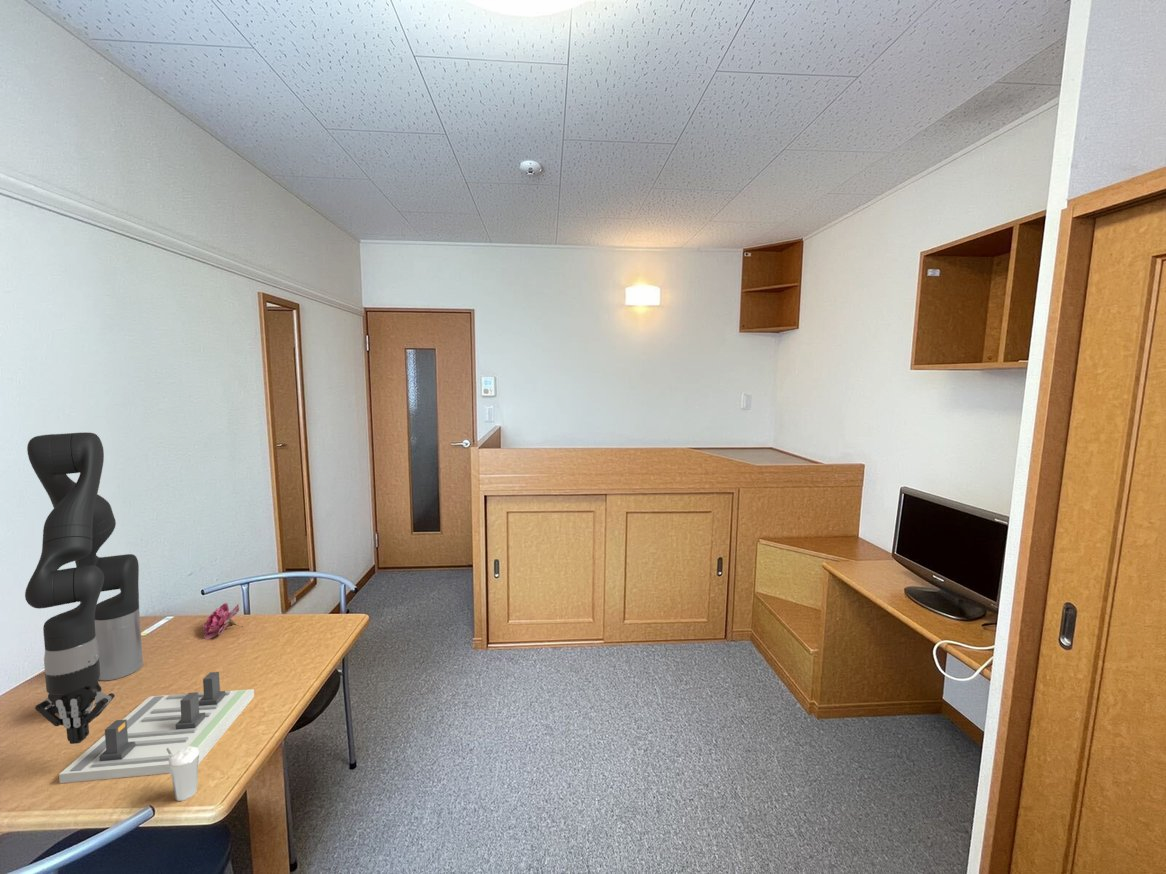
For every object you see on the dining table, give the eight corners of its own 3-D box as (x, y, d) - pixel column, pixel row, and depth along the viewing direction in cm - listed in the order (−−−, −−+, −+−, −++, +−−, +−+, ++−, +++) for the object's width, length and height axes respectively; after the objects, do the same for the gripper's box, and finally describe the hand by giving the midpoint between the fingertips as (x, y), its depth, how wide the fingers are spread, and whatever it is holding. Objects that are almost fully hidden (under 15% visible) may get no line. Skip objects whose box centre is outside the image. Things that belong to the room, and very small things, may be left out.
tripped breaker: (99, 761, 96) (97, 731, 95) (114, 748, 99) (112, 719, 99) (121, 759, 97) (119, 729, 96) (135, 746, 100) (133, 717, 99)
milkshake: (178, 785, 94) (176, 739, 93) (206, 784, 94) (204, 738, 93) (160, 805, 89) (157, 757, 88) (189, 803, 89) (187, 756, 88)
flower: (204, 651, 145) (185, 625, 145) (227, 637, 155) (209, 613, 155) (234, 631, 146) (216, 605, 145) (255, 618, 156) (238, 594, 155)
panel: (59, 783, 93) (56, 742, 92) (150, 703, 117) (147, 670, 116) (193, 770, 97) (190, 731, 96) (254, 696, 121) (252, 664, 120)
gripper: (15, 676, 90) (23, 758, 92) (93, 671, 92) (99, 751, 94) (52, 654, 97) (59, 730, 99) (124, 650, 100) (129, 725, 101)
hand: (78, 740), depth 96 cm, fingers closed
